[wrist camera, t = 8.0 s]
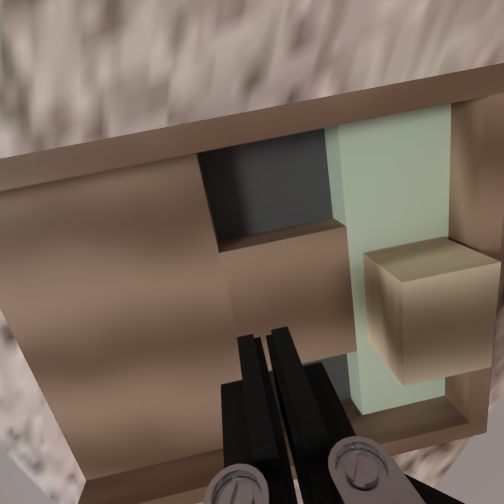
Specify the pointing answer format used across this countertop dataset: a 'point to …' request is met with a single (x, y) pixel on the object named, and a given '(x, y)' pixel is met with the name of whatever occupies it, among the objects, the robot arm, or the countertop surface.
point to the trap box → (240, 269)
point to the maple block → (431, 308)
